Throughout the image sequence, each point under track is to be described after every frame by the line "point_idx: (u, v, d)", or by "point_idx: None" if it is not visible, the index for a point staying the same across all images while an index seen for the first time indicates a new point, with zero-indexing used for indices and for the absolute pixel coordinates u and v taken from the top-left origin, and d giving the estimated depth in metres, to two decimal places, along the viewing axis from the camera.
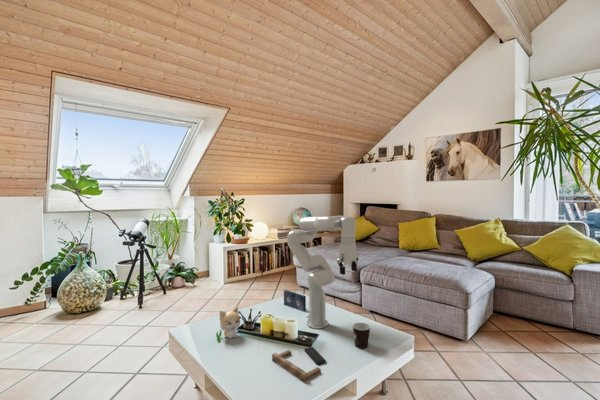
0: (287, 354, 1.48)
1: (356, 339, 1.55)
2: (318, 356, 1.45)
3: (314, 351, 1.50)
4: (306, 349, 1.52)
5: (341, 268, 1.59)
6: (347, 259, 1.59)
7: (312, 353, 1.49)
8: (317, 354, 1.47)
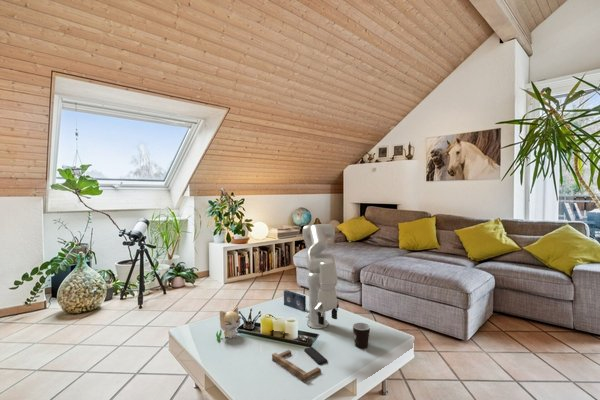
0: (287, 354, 1.48)
1: (356, 339, 1.55)
2: (319, 356, 1.45)
3: (314, 351, 1.51)
4: (306, 349, 1.52)
5: (319, 318, 1.48)
6: (326, 308, 1.48)
7: (312, 353, 1.49)
8: (317, 354, 1.47)
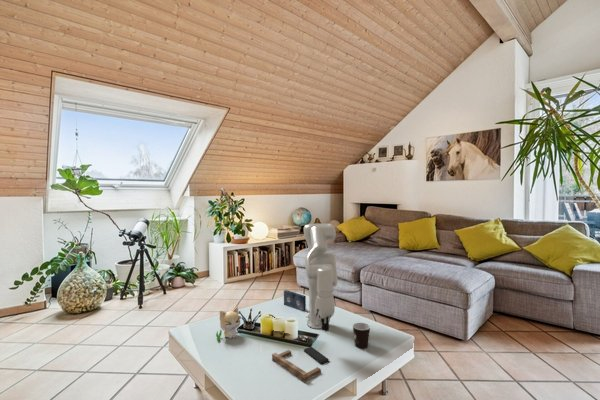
0: (287, 354, 1.48)
1: (356, 339, 1.55)
2: (320, 355, 1.46)
3: (314, 351, 1.51)
4: (306, 349, 1.52)
5: (323, 324, 1.51)
6: (323, 315, 1.48)
7: (313, 353, 1.49)
8: (318, 354, 1.47)
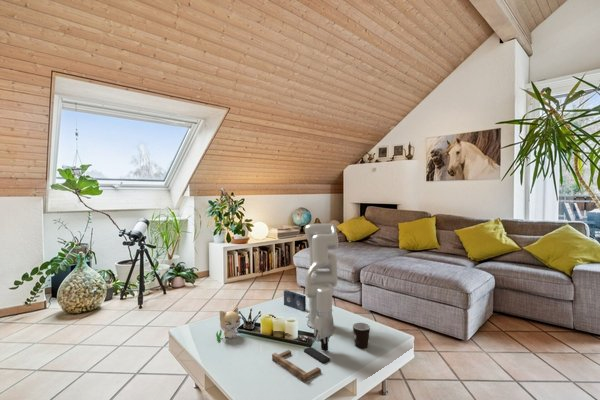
0: (287, 354, 1.48)
1: (356, 339, 1.55)
2: (321, 355, 1.46)
3: (314, 351, 1.51)
4: (306, 350, 1.52)
5: (322, 344, 1.51)
6: (322, 335, 1.48)
7: (313, 353, 1.49)
8: (319, 353, 1.48)
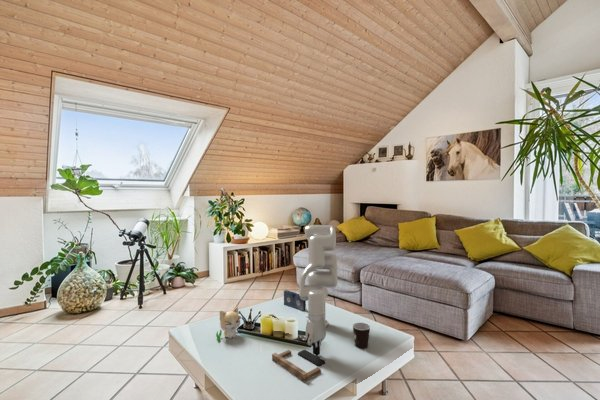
0: (287, 354, 1.48)
1: (356, 339, 1.55)
2: (316, 358, 1.44)
3: (309, 353, 1.48)
4: (300, 353, 1.49)
5: (314, 348, 1.47)
6: (314, 339, 1.44)
7: (308, 356, 1.46)
8: (313, 356, 1.45)
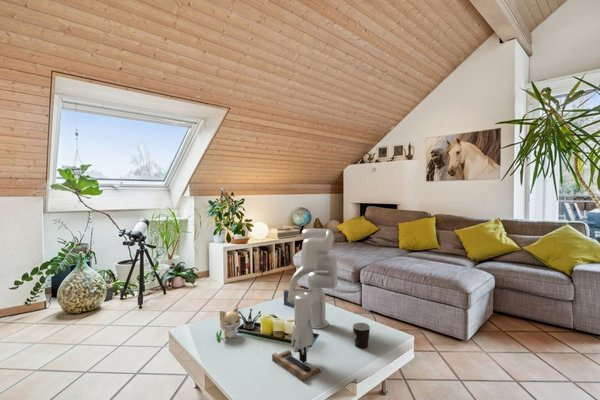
0: (287, 354, 1.48)
1: (356, 339, 1.55)
2: (302, 365, 1.38)
3: (295, 360, 1.43)
4: None
5: (300, 355, 1.41)
6: (300, 346, 1.38)
7: (294, 363, 1.41)
8: (299, 363, 1.40)
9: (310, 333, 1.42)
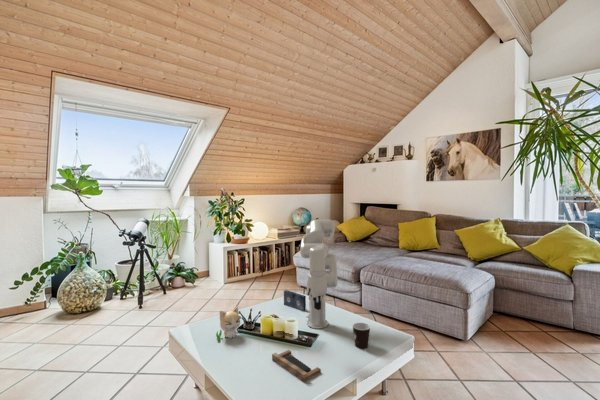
0: (287, 354, 1.48)
1: (356, 339, 1.55)
2: (301, 365, 1.38)
3: (295, 360, 1.43)
4: (286, 359, 1.44)
5: (315, 303, 1.50)
6: (315, 294, 1.47)
7: (294, 362, 1.41)
8: (299, 363, 1.40)
9: (324, 283, 1.50)
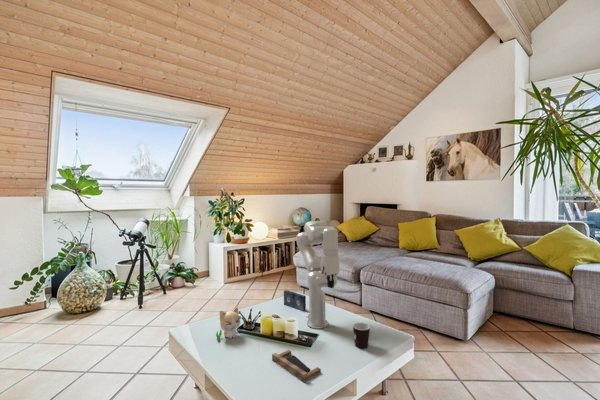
0: (287, 354, 1.48)
1: (356, 339, 1.55)
2: (301, 365, 1.38)
3: (296, 360, 1.43)
4: (287, 358, 1.44)
5: (329, 281, 1.59)
6: (329, 272, 1.56)
7: (294, 362, 1.41)
8: (300, 363, 1.40)
9: (337, 262, 1.60)
